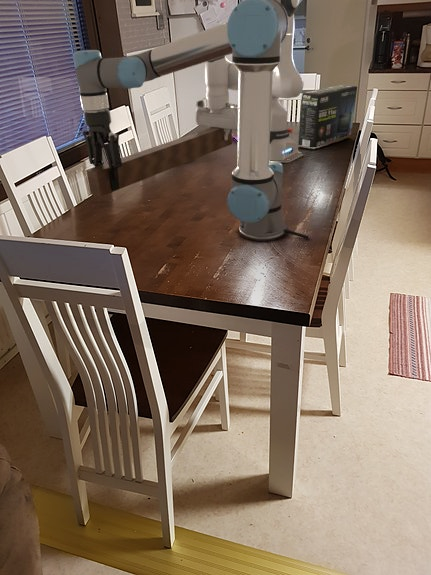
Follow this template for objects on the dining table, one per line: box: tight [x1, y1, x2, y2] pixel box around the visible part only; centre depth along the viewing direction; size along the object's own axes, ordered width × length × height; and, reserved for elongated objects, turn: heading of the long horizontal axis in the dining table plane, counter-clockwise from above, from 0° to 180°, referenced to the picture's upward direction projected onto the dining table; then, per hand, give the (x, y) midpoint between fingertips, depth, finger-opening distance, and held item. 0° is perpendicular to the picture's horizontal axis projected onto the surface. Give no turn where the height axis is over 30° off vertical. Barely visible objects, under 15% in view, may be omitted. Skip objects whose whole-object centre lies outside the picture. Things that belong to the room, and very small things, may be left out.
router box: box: [297, 84, 358, 151], centre depth 238 cm, size 36×11×27 cm, turn 134°
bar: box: [85, 127, 233, 198], centre depth 163 cm, size 71×5×8 cm, turn 144°
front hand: (109, 187), depth 145 cm, fingers closed on bar, 5 cm apart
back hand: (219, 139), depth 184 cm, fingers closed on bar, 5 cm apart
